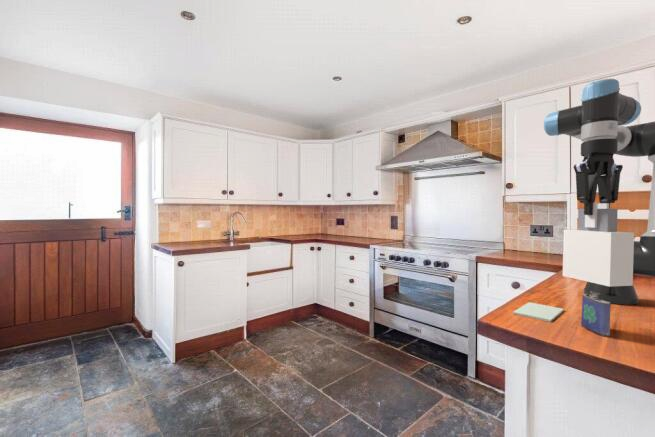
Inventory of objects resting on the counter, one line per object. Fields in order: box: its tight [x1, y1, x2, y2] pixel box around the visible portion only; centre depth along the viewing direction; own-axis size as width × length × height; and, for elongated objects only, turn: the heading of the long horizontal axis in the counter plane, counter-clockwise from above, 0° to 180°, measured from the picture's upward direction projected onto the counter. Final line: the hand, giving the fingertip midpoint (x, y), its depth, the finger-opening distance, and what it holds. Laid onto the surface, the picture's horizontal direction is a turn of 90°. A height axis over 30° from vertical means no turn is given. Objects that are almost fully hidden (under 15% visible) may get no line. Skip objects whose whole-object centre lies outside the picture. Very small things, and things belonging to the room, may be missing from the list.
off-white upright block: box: [562, 208, 635, 287], centre depth 86 cm, size 7×13×20 cm, turn 10°
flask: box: [580, 291, 612, 338], centre depth 86 cm, size 9×3×11 cm, turn 172°
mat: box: [512, 301, 565, 323], centre depth 102 cm, size 10×16×1 cm, turn 132°
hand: (596, 227), depth 85 cm, fingers closed on off-white upright block, 3 cm apart
